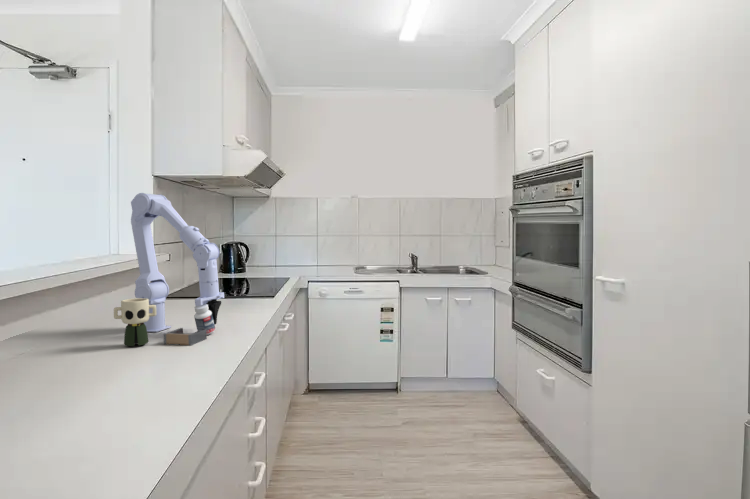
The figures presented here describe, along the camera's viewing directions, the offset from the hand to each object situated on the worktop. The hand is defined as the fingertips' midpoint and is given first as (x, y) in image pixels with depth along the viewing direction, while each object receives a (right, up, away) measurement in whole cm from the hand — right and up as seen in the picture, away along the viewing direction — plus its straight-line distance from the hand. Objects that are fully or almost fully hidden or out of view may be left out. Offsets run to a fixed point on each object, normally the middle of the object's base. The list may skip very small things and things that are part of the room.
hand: (212, 324), depth 158 cm
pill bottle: (-1, -2, -2) cm, 3 cm away
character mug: (-16, -4, -16) cm, 23 cm away
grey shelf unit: (-4, -3, -12) cm, 13 cm away
